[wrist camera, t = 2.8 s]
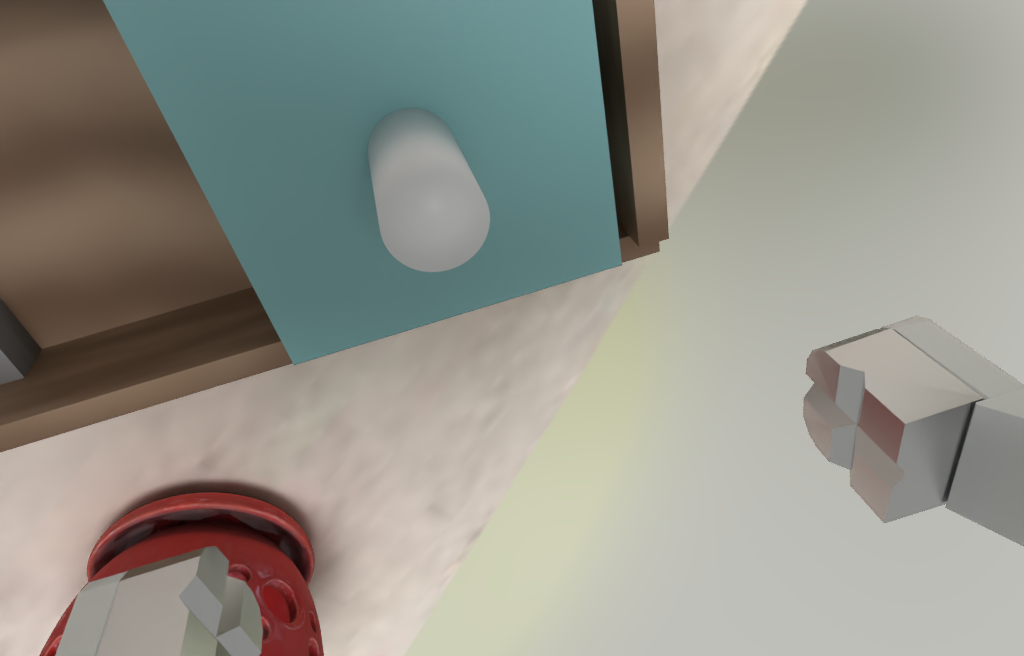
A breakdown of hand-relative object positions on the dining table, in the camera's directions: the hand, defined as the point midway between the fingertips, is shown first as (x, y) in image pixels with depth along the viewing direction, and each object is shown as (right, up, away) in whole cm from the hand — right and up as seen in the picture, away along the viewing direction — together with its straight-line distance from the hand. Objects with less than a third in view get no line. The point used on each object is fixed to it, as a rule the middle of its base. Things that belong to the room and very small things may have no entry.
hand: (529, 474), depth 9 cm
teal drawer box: (-5, +11, +16) cm, 20 cm away
